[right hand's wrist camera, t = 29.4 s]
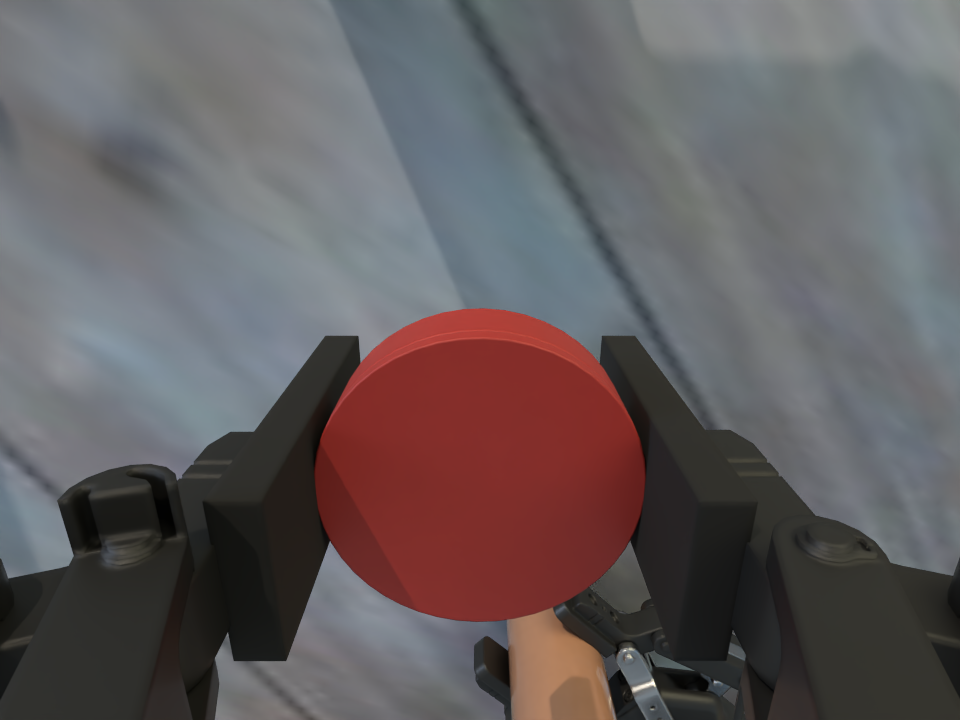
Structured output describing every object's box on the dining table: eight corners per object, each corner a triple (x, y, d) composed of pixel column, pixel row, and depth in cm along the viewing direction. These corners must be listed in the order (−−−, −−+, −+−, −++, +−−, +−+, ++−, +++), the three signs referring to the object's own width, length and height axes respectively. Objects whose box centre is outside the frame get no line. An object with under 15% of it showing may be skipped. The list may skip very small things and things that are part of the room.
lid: (279, 465, 12) (249, 515, 10) (455, 243, 10) (451, 262, 9) (499, 606, 13) (501, 668, 12) (686, 427, 12) (718, 473, 10)
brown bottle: (597, 575, 36) (701, 984, 19) (534, 611, 37) (579, 1030, 20) (552, 524, 35) (621, 916, 18) (488, 564, 36) (495, 970, 19)
